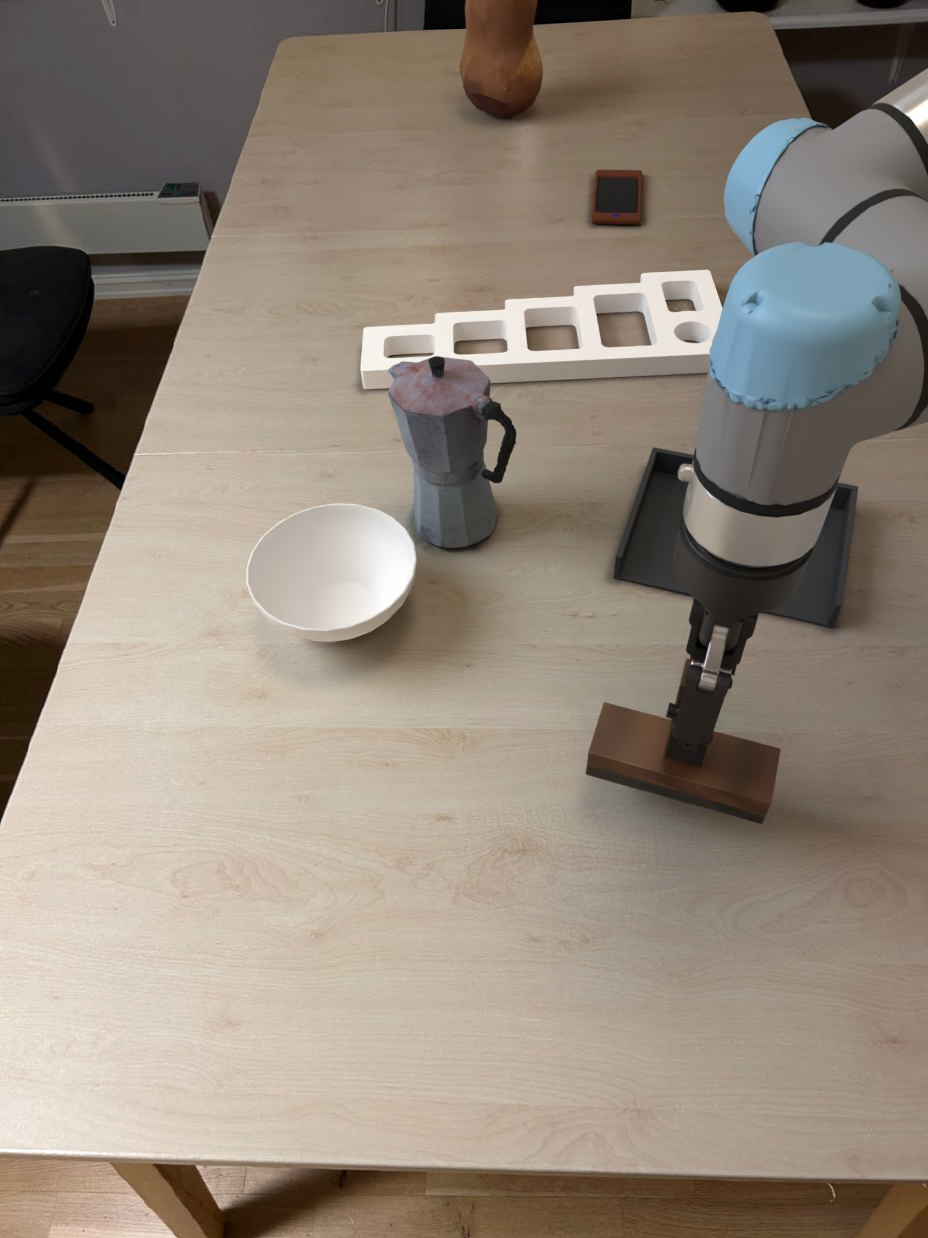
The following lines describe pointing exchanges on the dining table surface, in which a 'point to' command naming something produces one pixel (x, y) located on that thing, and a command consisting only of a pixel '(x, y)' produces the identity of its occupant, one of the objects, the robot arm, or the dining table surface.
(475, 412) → the moka pot
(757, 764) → the brush
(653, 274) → the holder
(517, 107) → the butternut squash
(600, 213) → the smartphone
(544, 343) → the dining table surface
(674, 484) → the dustpan
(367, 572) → the bowl
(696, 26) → the dining table surface
